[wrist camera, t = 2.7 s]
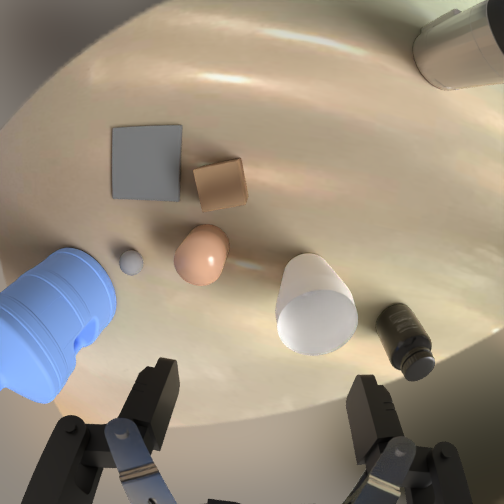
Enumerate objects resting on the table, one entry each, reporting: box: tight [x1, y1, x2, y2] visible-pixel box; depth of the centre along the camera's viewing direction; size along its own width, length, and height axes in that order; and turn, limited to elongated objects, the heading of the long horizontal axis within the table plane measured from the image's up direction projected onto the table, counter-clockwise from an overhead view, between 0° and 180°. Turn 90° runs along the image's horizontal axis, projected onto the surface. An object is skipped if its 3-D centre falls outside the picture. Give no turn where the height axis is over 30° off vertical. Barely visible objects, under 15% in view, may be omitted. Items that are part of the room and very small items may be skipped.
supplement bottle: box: [376, 304, 435, 381], centre depth 37 cm, size 7×7×12 cm
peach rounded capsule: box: [174, 224, 230, 286], centre depth 37 cm, size 6×6×6 cm
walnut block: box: [193, 158, 248, 212], centre depth 34 cm, size 5×5×5 cm
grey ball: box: [119, 250, 143, 275], centre depth 40 cm, size 4×4×4 cm
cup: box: [275, 253, 358, 356], centre depth 35 cm, size 9×9×12 cm
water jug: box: [0, 248, 116, 403], centre depth 32 cm, size 16×16×28 cm
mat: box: [112, 125, 182, 202], centre depth 36 cm, size 10×10×1 cm
